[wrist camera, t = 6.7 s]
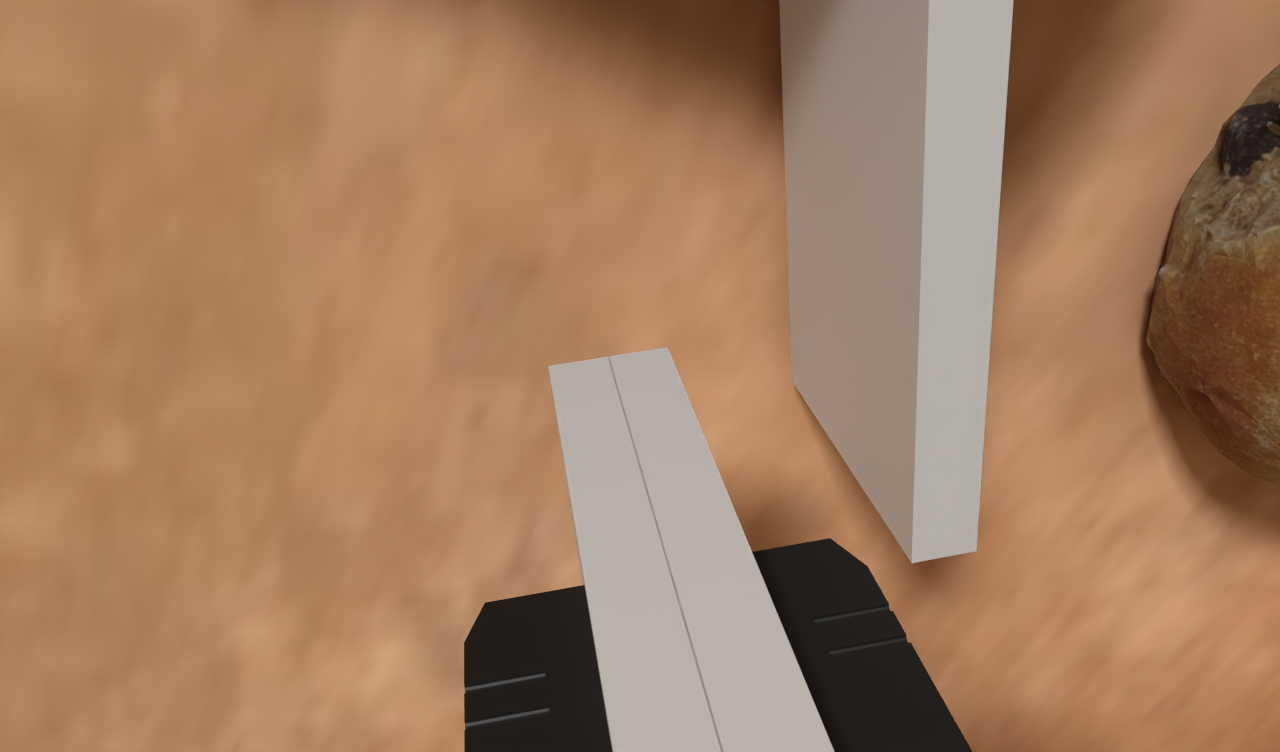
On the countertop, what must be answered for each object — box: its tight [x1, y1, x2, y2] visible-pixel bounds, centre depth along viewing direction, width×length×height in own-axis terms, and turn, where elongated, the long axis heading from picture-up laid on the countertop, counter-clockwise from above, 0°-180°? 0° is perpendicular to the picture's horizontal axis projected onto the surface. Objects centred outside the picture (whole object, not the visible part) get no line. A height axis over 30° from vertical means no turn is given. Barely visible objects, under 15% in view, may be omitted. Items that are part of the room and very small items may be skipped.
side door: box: [779, 0, 1013, 563], centre depth 15 cm, size 2×10×6 cm, turn 6°
